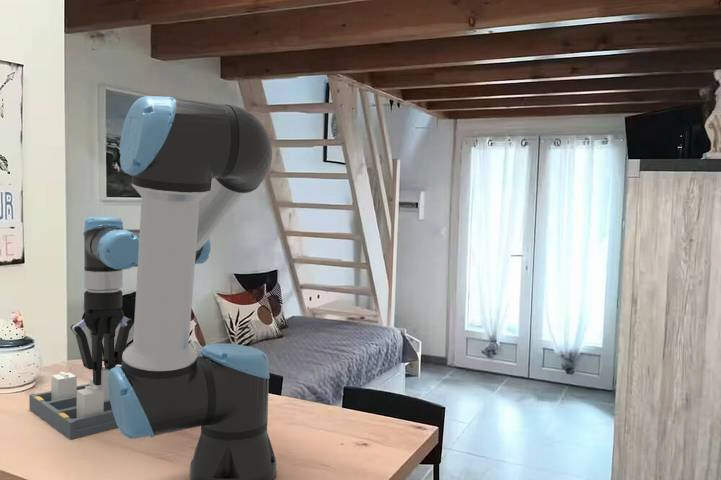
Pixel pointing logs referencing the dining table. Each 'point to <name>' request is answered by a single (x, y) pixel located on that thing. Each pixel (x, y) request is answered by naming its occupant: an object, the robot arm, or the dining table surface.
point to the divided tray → (71, 415)
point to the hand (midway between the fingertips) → (102, 398)
